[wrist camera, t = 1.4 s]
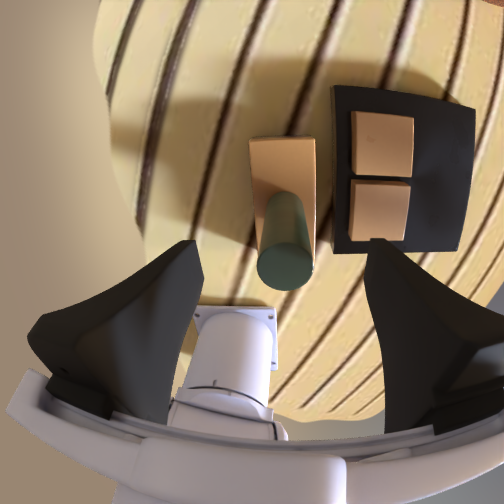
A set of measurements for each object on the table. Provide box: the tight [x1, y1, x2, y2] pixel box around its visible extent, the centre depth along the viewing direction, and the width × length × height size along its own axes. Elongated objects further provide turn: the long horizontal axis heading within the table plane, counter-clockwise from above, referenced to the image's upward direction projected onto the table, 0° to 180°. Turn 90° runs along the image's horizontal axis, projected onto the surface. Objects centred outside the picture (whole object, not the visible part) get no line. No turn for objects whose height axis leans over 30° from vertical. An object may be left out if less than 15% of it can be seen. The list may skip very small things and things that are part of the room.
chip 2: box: [348, 180, 411, 241], centre depth 17 cm, size 4×4×1 cm
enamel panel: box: [330, 85, 476, 254], centre depth 17 cm, size 12×12×2 cm
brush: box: [248, 135, 316, 291], centre depth 15 cm, size 9×4×10 cm, turn 4°
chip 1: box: [351, 111, 414, 177], centre depth 15 cm, size 4×4×1 cm
